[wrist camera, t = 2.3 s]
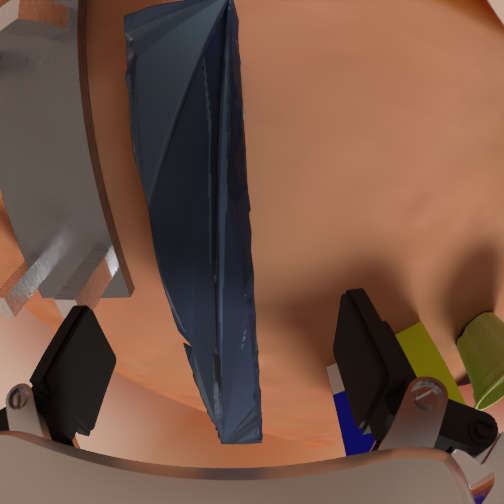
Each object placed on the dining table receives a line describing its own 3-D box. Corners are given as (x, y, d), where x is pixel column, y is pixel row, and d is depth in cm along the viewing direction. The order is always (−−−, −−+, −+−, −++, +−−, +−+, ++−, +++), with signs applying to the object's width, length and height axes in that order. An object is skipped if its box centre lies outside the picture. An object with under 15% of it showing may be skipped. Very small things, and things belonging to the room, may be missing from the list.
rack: (-6, 39, 8) (-61, 42, 3) (87, -17, 8) (33, -43, 3) (47, 290, 20) (14, 338, 14) (134, 288, 19) (107, 350, 14)
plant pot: (502, 283, 21) (546, 336, 13) (502, 324, 25) (533, 370, 17) (439, 335, 24) (474, 399, 16) (449, 366, 28) (475, 418, 20)
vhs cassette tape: (256, 325, 22) (262, 445, 13) (218, 326, 22) (209, 445, 13) (249, 56, 12) (257, -12, 4) (193, 60, 12) (116, 9, 4)
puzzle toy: (325, 366, 25) (347, 461, 16) (420, 320, 22) (466, 406, 14) (351, 403, 29) (369, 474, 21) (426, 367, 27) (456, 435, 18)
